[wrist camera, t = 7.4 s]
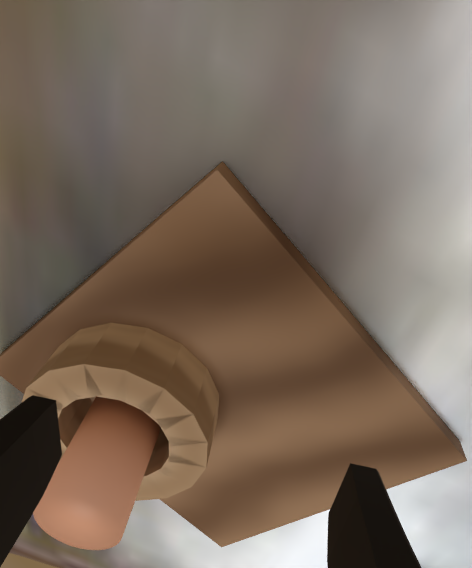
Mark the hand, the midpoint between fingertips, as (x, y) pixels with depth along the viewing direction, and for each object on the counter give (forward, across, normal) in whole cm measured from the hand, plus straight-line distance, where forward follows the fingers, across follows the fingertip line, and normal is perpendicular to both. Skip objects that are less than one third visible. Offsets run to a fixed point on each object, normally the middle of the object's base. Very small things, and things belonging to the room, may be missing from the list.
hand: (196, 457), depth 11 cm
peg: (+9, +5, +8) cm, 13 cm away
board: (+10, 0, +8) cm, 13 cm away
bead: (+9, +5, +8) cm, 13 cm away
